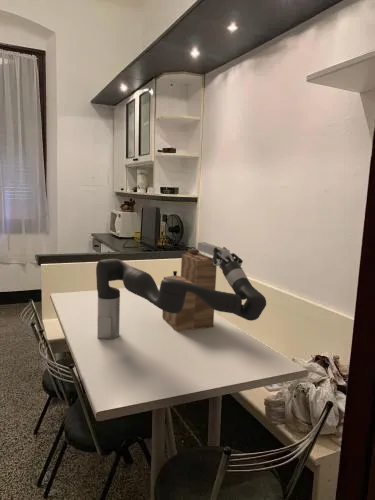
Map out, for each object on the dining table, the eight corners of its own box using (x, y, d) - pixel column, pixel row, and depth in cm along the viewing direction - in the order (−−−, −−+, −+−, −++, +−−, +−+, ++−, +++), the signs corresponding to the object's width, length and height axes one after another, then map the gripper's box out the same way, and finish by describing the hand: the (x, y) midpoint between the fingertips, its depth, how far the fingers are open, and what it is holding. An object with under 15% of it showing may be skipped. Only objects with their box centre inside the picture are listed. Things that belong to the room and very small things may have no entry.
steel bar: (229, 258, 162) (229, 250, 162) (221, 259, 161) (222, 250, 160) (204, 249, 184) (204, 242, 183) (197, 249, 183) (197, 242, 182)
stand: (213, 326, 184) (217, 254, 179) (175, 331, 177) (178, 256, 171) (197, 314, 200) (200, 248, 195) (162, 318, 193) (164, 249, 188)
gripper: (253, 268, 155) (236, 241, 167) (222, 269, 149) (206, 242, 161) (247, 282, 159) (231, 255, 171) (217, 284, 154) (201, 256, 166)
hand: (219, 249), depth 166 cm, fingers closed on steel bar, 3 cm apart
